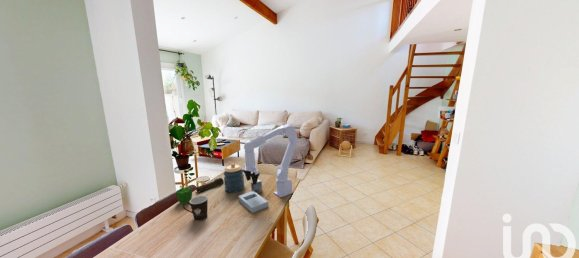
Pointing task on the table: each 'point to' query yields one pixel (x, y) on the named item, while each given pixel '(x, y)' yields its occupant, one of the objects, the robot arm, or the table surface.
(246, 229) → the table surface
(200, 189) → the hand tool
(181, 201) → the bell pepper
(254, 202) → the slotted pale blue plate
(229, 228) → the table surface
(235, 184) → the canister
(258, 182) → the tall dark grey prism
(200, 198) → the coffee mug
